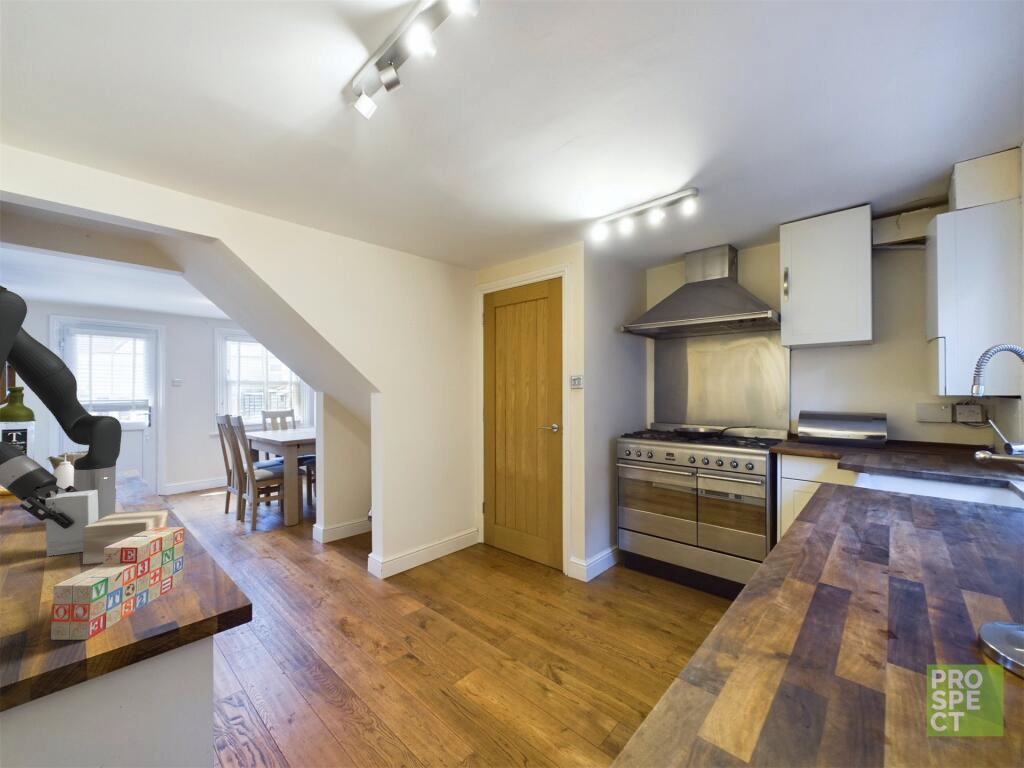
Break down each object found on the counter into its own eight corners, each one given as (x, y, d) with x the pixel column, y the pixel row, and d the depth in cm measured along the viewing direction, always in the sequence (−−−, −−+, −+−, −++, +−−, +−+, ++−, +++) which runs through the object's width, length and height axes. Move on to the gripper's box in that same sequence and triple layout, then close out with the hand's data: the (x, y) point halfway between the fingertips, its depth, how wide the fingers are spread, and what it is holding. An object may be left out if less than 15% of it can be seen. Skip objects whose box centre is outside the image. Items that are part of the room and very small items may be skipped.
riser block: (112, 546, 110) (113, 512, 110) (167, 542, 114) (168, 509, 114) (82, 564, 99) (84, 527, 99) (144, 558, 103) (145, 522, 103)
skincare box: (99, 544, 111) (101, 488, 112) (88, 552, 106) (90, 494, 106) (56, 549, 108) (58, 491, 108) (42, 557, 102) (44, 497, 102)
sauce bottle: (55, 503, 148) (56, 453, 148) (84, 501, 151) (86, 452, 152) (41, 509, 141) (43, 456, 141) (72, 507, 144) (74, 455, 145)
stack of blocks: (88, 641, 70) (91, 567, 70) (49, 641, 69) (52, 567, 70) (183, 582, 91) (185, 526, 91) (154, 582, 91) (155, 525, 91)
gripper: (13, 472, 98) (73, 518, 101) (60, 462, 112) (112, 503, 115) (-17, 495, 97) (44, 542, 100) (35, 482, 111) (88, 523, 113)
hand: (80, 521), depth 107 cm, fingers closed on skincare box, 6 cm apart
